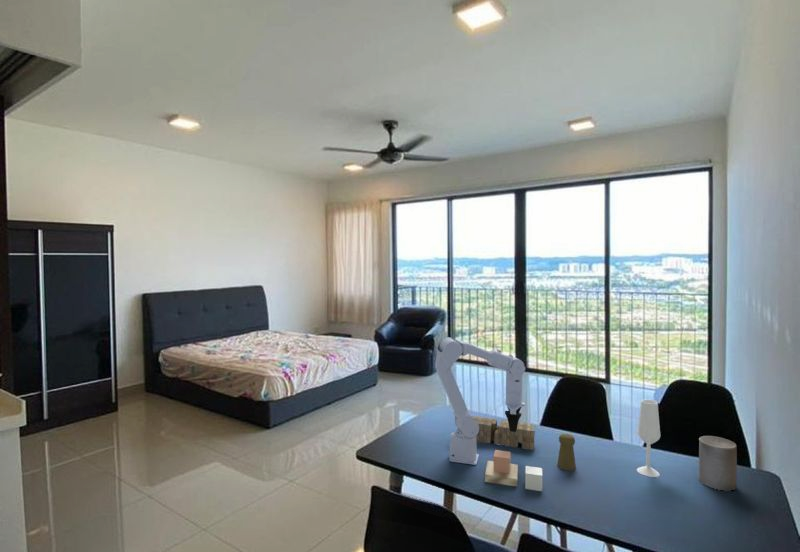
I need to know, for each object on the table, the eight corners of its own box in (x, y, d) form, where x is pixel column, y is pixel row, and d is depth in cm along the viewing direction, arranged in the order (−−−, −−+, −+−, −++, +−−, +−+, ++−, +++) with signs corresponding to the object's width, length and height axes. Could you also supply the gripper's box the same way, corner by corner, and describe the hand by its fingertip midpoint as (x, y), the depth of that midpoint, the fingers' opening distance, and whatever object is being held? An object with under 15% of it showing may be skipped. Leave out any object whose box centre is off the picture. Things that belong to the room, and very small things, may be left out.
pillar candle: (729, 479, 138) (729, 433, 138) (742, 494, 129) (742, 445, 128) (694, 474, 141) (694, 430, 141) (704, 489, 132) (704, 441, 132)
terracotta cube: (493, 471, 138) (493, 456, 137) (495, 464, 142) (495, 449, 142) (509, 473, 136) (509, 458, 136) (510, 466, 141) (510, 451, 140)
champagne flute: (658, 469, 144) (659, 400, 143) (661, 478, 138) (662, 406, 137) (635, 465, 147) (637, 397, 146) (637, 474, 141) (638, 403, 140)
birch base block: (484, 483, 136) (485, 474, 136) (487, 469, 145) (487, 460, 145) (517, 488, 133) (517, 479, 133) (517, 473, 142) (517, 464, 142)
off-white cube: (525, 489, 132) (525, 473, 131) (525, 481, 136) (525, 465, 136) (542, 491, 130) (542, 475, 130) (541, 483, 135) (541, 468, 135)
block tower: (534, 444, 166) (460, 432, 176) (535, 423, 166) (461, 412, 176) (533, 453, 159) (457, 439, 168) (534, 431, 158) (457, 419, 168)
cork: (577, 471, 143) (578, 439, 142) (558, 469, 144) (559, 437, 144) (574, 463, 149) (574, 432, 148) (555, 461, 150) (556, 430, 150)
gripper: (525, 397, 146) (524, 436, 146) (525, 386, 160) (525, 421, 160) (504, 395, 148) (503, 433, 148) (506, 384, 162) (506, 419, 162)
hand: (513, 427), depth 154 cm, fingers open, 7 cm apart
